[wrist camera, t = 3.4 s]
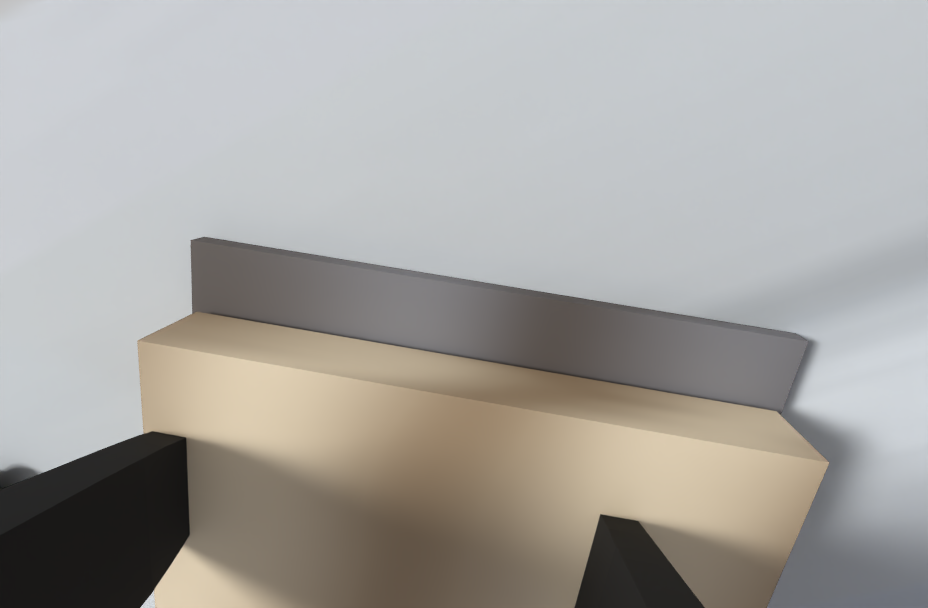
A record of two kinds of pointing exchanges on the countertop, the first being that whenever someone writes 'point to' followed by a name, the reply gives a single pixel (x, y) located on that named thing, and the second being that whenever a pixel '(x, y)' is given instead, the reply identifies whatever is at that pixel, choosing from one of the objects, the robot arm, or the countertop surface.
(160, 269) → the countertop surface
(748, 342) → the floor row
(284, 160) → the countertop surface
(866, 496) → the countertop surface
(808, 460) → the plank
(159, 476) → the robot arm
